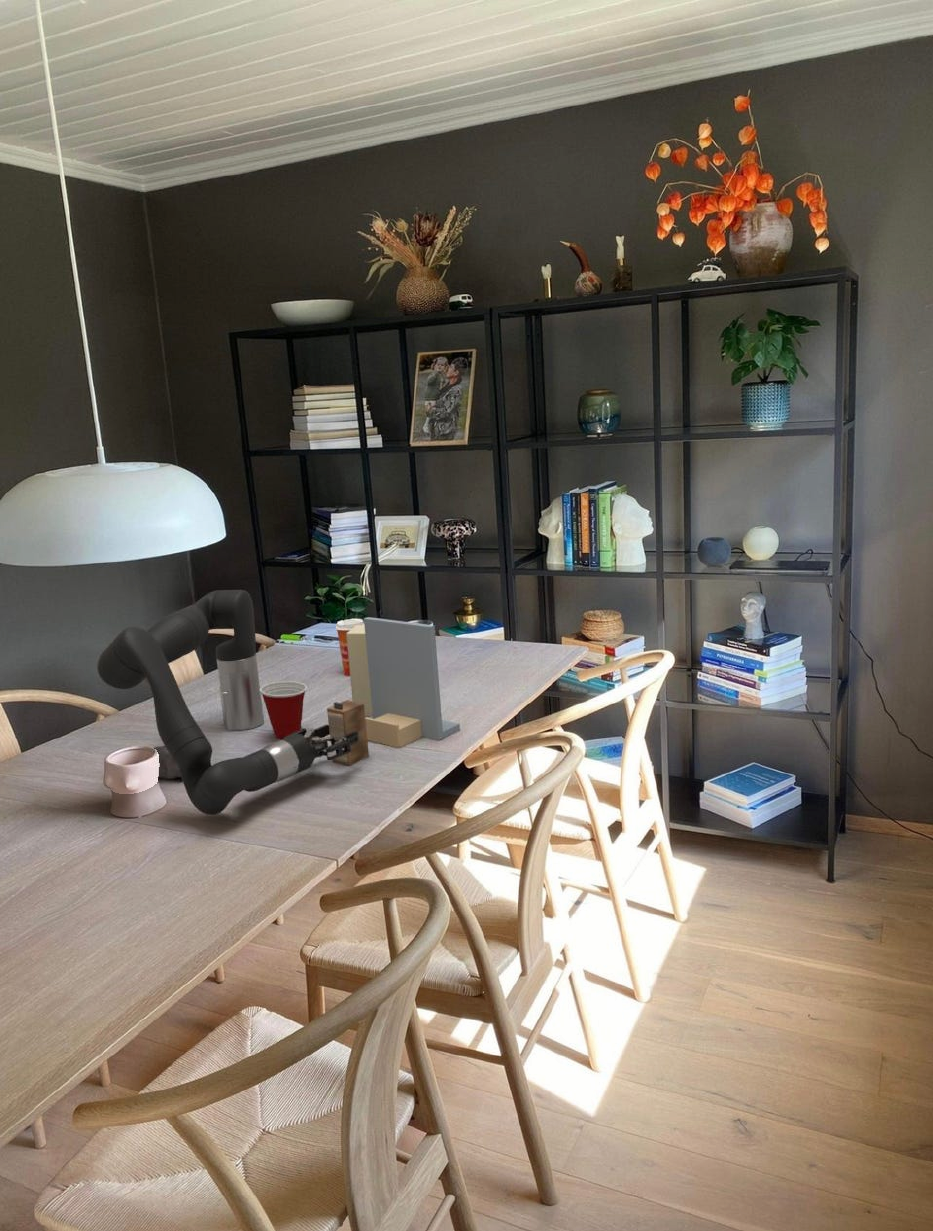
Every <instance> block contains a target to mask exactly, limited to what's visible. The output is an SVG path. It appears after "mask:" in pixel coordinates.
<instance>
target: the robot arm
mask: <svg viewBox="0 0 933 1231" xmlns="http://www.w3.org/2000/svg"><path fill="white" fill-rule="evenodd" d="M255 626H256V625H255V613H254V604H253V600H252V597H251V594H250V593H249V592H248V591H247V590H244V589H225V590H224V589H221V590H213V591H210V592H208V593H207V594H205V595H203V596H202V597H201V598H200V599H198V600H197V601H196V602H194V603H192V604H191V605H188V606H186V607H184V608H181V609H179V610H176V611H174V612H172V613H170V614H168V615H166V616H164V617H163V618H161V619H159V620H158V621H157V622H156V623H154V624H153V625H152V626H151V627H150V628H149V629H148V630H146V629H143V628H141V627H138V626H129V627H127V628H124V629H123V630H122V631H121V632H120V633H119V634H118V635H116V637H115V638H114V639H113V641H111V643H109V645H108V646H107V647H106V648H105V649H104V650H103V651H102V653H101V654H100V656H99V658H98V661H97V673H98V675H99V677H100V679H101V680H102V681H103V683H105V685H108V686H110V687H112V688H114V689H120V690H128V689H132V688H135V687H137V686H139V684H141V683H142V681H144V680H145V679H146V680H147V683H148V684H149V686H150V689H151V694H152V699H153V704H154V705H153V706H154V714H155V722H156V727H157V728H156V729H157V732H158V735H159V736H160V740H161V741H162V743H163V746H165V747H166V748H167V750H168V751H169V753H170V755H171V756H172V758H173V759H174V761H175V762H176V764H177V765H178V767H179V771H180V774H181V777H180V778H181V780H182V783H183V786H184V788H185V791H186V794H187V797H188V798H189V800H190V802H191V804H192V805H193V806H194V807H195V808H196V809H197V810H198V811H200V812H201V813H203V814H204V815H209V816H215V815H218V814H221V813H222V812H223V811H224V810H225V809H226V808H227V807H228V806H229V804H230V803H231V802H232V800H233V799H234V797H236V795H237V794H240V793H241V792H243V791H244V792H248V793H253V792H256V791H257V792H258V791H260V790H262V789H264V788H267V787H270V786H271V785H273V784H275V783H278V782H281V781H284V780H287V779H289V778H291V777H292V776H295V775H297V774H300V773H302V772H303V771H306V770H309V769H310V767H312V765H313V763H314V761H315V759H317V758H322V757H323V756H325V757H326V760H327V761H333V759H335V758H338V757H340V756H342V755H345V754H347V753H349V752H351V746H350V745H352V744H354V743H356V742H358V741H359V736H358V732H355V731H354V732H352V733H350V734H347V735H345V736H343V737H339V738H334V737H333V736H330V732H329V724H324V725H322V726H319V727H317V728H311V729H308V730H307V728H301V730H299V731H297V732H294V733H292V734H290V735H288V736H286V737H284V738H283V739H281V740H280V739H278V740H276V741H275V742H271V743H270V744H268V745H266V746H263V747H262V748H261V749H258V750H257V751H254V752H252V753H250V754H247V755H245V756H242V757H236V758H229V759H224V760H220V761H219V762H216V763H214V764H212V762H211V760H212V754H213V746H212V745H211V743H210V741H209V739H208V738H207V737H206V735H205V734H204V731H203V730H202V729H201V727H200V726H199V724H198V722H197V721H196V720H195V718H194V716H193V715H192V713H191V711H190V710H189V708H188V705H187V704H186V702H185V700H184V697H183V695H182V692H181V690H180V688H179V685H178V683H177V680H176V678H175V676H174V674H173V671H172V669H171V667H170V665H169V664H170V663H173V662H175V661H177V660H178V659H181V658H182V657H185V656H186V655H189V654H191V653H192V652H195V651H196V650H197V649H199V648H201V646H203V644H204V643H205V642H206V641H207V639H208V636H209V631H213V630H233V637H232V638H231V639H229V640H226V641H223V642H221V643H220V644H218V645H217V646H216V648H215V657H216V664H217V666H216V667H217V672H218V679H219V695H220V704H221V709H222V711H221V712H222V718H223V724H224V726H225V727H224V728H226V731H227V732H228V731H244V730H245V731H246V730H249V729H255V728H257V727H259V726H261V725H263V724H264V722H265V718H264V717H265V715H264V709H263V700H262V699H263V698H262V694H261V692H260V690H259V689H260V688H261V684H260V677H259V669H258V661H257V652H256V641H257V640H256V639H257V638H256V627H255ZM328 742H330V744H328ZM336 742H339V743H336ZM335 743H336V744H335Z"/></svg>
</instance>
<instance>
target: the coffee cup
mask: <svg viewBox="0 0 933 1231" xmlns="http://www.w3.org/2000/svg"><path fill="white" fill-rule="evenodd" d="M357 625H364V619H362V618H350V619H344V620H339V621H337V623H336V626H335V629H336V631H337V638H338V643H339V649H340V656H341V661H342V668H343V673H344V676H347V677H350V668H349V658H348V648H347V637H346V634H347V633H348V632H349V631H350V630H351V629H352V628H353V627H355V626H357Z"/></svg>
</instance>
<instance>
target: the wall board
mask: <svg viewBox="0 0 933 1231" xmlns="http://www.w3.org/2000/svg"><path fill="white" fill-rule="evenodd" d="M363 622H364V626H365V637H366V647H367V658H368V668H369V679H370V689H371V700H372V710H373V716H372V718H369V717H365V720H366V730H367V740H370V741H369V742H372V741H373V742H372V743H376V742H378V743H377V744H380V743H382V744H381V745H384V744H385V746H389V747H394V748H398V749H401V747H404V746H406V745H408V744H410V743H412V742H414V741H416V740H418V739H420V738H425V739H426V738H427V739H430V740H434V741H435V740H436V741H441V740H443V739H445V738H447V737H449V736H451V735H454V734H455V733H457V732H458V731H460V730H461V724H460V722H459V723H458V722H455V721H454V722H453V721H447V720H443V717H442V704H441V692H440V691H441V690H440V689H441V688H440V678H439V667H438V666H439V664H438V655H437V654H438V653H437V640H436V630H435V629H436V627H435V625H434V624H433V625H432V624H425V623H418V622H410V621H409V622H408V621H403V620H396V619H395V620H394V619H385V618H378V617H369V616H367V617H363Z"/></svg>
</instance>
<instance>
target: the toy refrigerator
mask: <svg viewBox="0 0 933 1231" xmlns="http://www.w3.org/2000/svg"><path fill="white" fill-rule="evenodd" d="M346 637H347V648H348V658H349V668H350V676H349V678H350V679H349V680H350V687H351V701H354V702H359V703H364V710H365V717H373V710H372V700H371V689H370V679H369V668H368V658H367V647H366V637H365V626H364V625H357V626H355V627H353V628H352V629H351V630H350V631H349V632H348V633H347V634H346Z"/></svg>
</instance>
